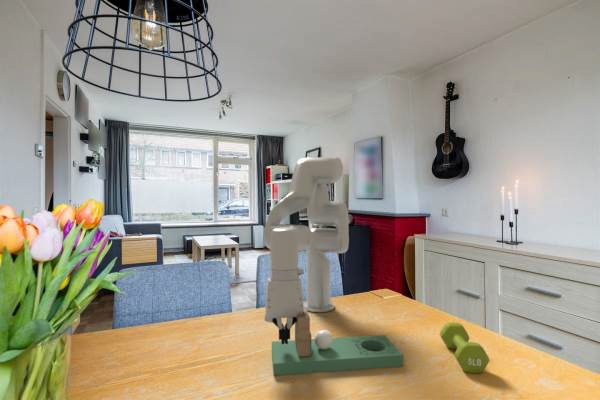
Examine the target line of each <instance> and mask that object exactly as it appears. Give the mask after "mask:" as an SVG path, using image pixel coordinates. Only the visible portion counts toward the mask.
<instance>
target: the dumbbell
mask: <svg viewBox="0 0 600 400" xmlns="http://www.w3.org/2000/svg"><path fill="white" fill-rule="evenodd" d="M439 336H440V339H441V340H442V342H443V343H444V345H445V346H446V348H448V349H452V350H455V352H454V357H455V360H456V361H457V363H458V365H459V366H460V368H461V370H462V371H463V372H464V373H470V374H481V373H483V372H484V370H485V369H486V368H487V366H488V364H489V363H490V358H489V356H488V354H487V352H486V351H485V349H484V348H483V346H482V345H481V344H480V343H478V342H474V341H469V340H470V336H469V333H468V332H467V330H466V328H465V327H464V325H463V324H462V323H460V322H446V323H445V324H444V325H443V327H442V328H441V330H440V332H439Z"/></svg>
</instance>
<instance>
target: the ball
mask: <svg viewBox="0 0 600 400" xmlns="http://www.w3.org/2000/svg"><path fill="white" fill-rule="evenodd" d="M333 338H334V337H333V335H332V333H331V332H330V331H329V330H327V329H320V330H318V331H317V332H316V334H315V336H314V339H315V344H316V345H317V347H318V348H320V349H322V350H326V349H328V348H330V347H331V345H332V343H333Z"/></svg>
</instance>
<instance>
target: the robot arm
mask: <svg viewBox="0 0 600 400" xmlns="http://www.w3.org/2000/svg"><path fill="white" fill-rule="evenodd" d="M343 166H344V165H343V162H342V159H341V158H340V157H338V156H327V157H325V156H323V157H321V156H320V157H317V156H316V157H315V156H314V157H303V158H300V159H298V160H297V161H296V164H295V166H294V169H293V172H292V177H291V181H290V186H289V189H288V194H287V195H285V196H284V197H283V198H282V199H280V200H279V201H278V202H277V203H276V204H274V206H273V207H272V208H271V210H270V211H269V214H268V216H267V219H266V222H265V223H266V224H265V226H264V231H263V244H264V245H265V247H266V248H267V249H269V250H270V252H269V253H270V254H269V255H270V257H269V258H270V260H269V263H270V265H269V266H270V268H269V269H270V270H269V271H270V272H269V273H270V277H269V278H268V277H267V279H266V280H267V281H266V287H265V315H264V318H263V319H264V321H265V322H266V323H273V324H274V325H275V326H276V327H277V328H278V341H282V344H288V341H289V340H291V329H292V327H293V326H295V322H296V321H297V315H303V311H304V307H306V310H307V312H310V313H311V312H313V313H327V312H331V311H332V310H334V308H335V303H334V302H333V301H332V300H331V268H332V267H331V261H330V259H329V257H328V256H327V255H326V253H327V254H328V253H330V254H344V253H346V252H347V251H348V250H349V244H350V243H349V242H350V237H349V209H348V207H347V204H346V203H344V202H343V201H339V200H338V201H336V200H332V201H330V199H329V188H328V185H327V184H329V185H330V184H334V183H337V182H338V181H339V180H341V179H342V176H343V171H344V167H343ZM305 209H307V210H306V211H307V213H306V214H307V220H308V223H309V224H311V225H314V226H328V227H329V226H331V227H335V228H327V227H325V228H324V227H313V228H310V227H308V226H306V225H303V224H287V223H286V224H284V223H282V224H281V222H282V221H283V220H284V219H285V218H286V217H288V216H291V215H293V214H296V213H298V212H300V211H302V210H305ZM299 252H300V253H301V252H305V254H306V256H305V257H306V300H305V301H304V292H303V283H302V279H301V277H300V276H301V275H304V274H305V269H301V268H300V267H299ZM282 319H286V322H285V324H284V323H283V321H282Z"/></svg>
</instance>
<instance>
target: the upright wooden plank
mask: <svg viewBox="0 0 600 400" xmlns="http://www.w3.org/2000/svg"><path fill="white" fill-rule="evenodd" d="M310 324H311V319H310V315H309V311H308V310H306V307H304V311H303V315H297V321H296V322H295V324H294V340H295V345H296V349H297V353H298V357H302V356H310V354H311V339H312V333H311V325H310Z"/></svg>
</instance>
